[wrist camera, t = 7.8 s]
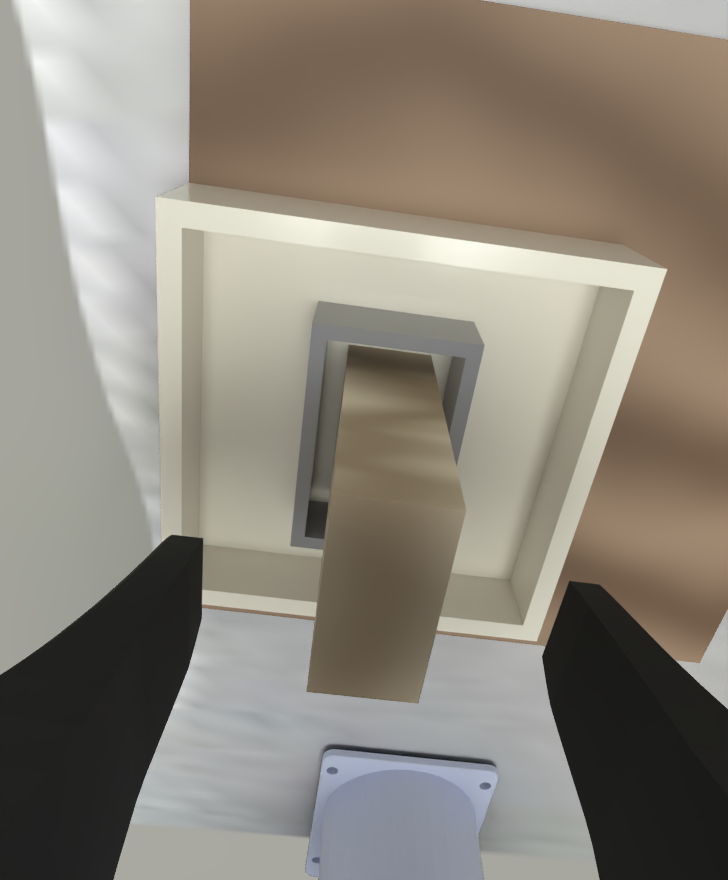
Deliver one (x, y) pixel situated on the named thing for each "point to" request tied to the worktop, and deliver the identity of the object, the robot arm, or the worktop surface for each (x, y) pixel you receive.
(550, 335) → the cream square tray
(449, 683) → the worktop surface
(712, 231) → the board
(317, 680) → the tall bronze block
